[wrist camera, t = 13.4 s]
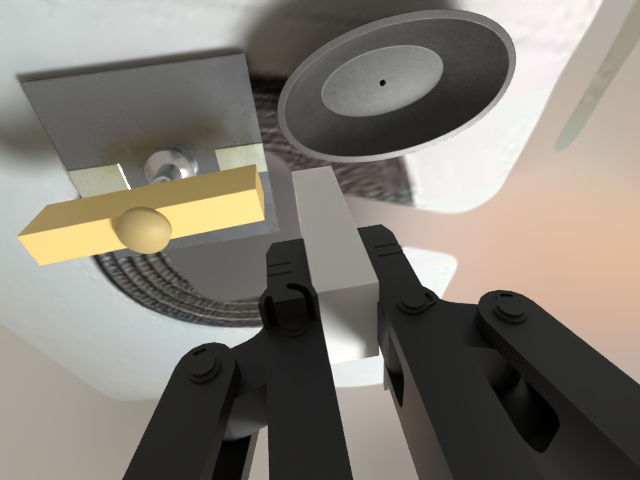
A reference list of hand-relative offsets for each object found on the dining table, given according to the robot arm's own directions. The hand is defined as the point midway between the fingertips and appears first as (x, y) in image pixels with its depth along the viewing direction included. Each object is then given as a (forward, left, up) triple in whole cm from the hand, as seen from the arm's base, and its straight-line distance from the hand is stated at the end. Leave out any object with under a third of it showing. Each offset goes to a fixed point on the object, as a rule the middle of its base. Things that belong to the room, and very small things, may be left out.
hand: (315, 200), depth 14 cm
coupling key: (+8, -13, -19) cm, 24 cm away
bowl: (+2, +10, -27) cm, 29 cm away
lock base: (+8, -13, -26) cm, 31 cm away
